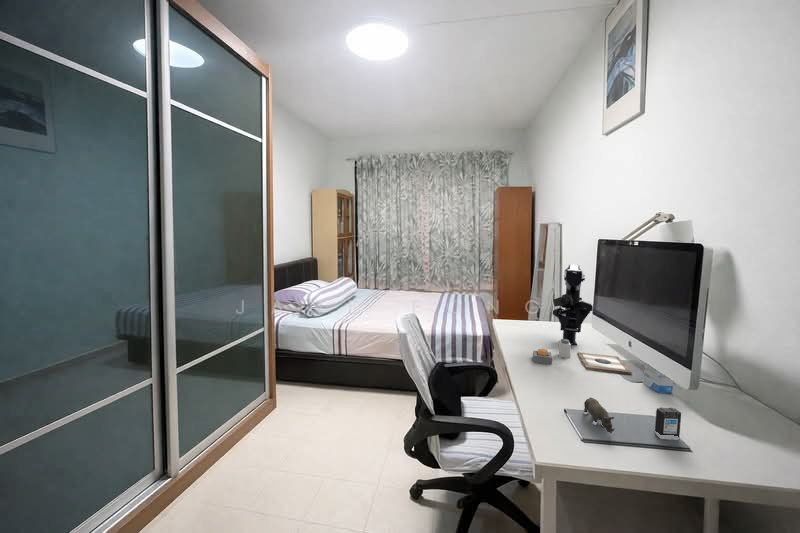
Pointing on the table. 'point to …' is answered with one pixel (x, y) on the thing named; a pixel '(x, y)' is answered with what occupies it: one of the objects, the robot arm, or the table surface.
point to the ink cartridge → (668, 421)
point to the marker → (564, 348)
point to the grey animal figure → (598, 413)
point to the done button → (542, 352)
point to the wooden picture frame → (603, 363)
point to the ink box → (657, 380)
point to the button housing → (542, 358)
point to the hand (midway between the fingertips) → (570, 328)
